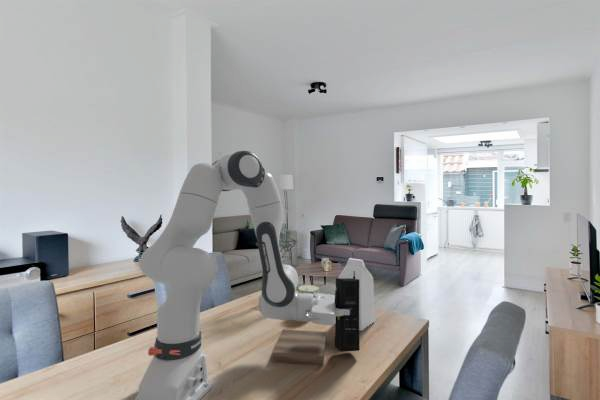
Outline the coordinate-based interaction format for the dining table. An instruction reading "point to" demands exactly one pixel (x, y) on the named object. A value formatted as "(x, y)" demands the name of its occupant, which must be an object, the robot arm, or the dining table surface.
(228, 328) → the dining table surface
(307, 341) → the walnut plinth
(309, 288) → the can
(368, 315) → the milk
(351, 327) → the portable radio
